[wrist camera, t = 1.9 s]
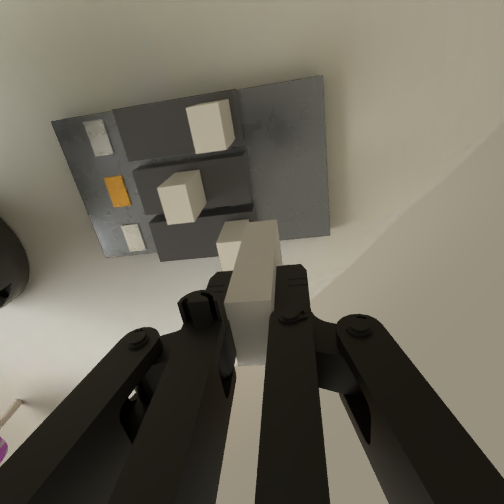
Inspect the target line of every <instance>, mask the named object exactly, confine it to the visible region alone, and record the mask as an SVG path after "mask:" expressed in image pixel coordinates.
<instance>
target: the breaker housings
mask: <svg viewBox="0 0 504 504" xmlns="http://www.w3.org/2000/svg"><path fill="white" fill-rule="evenodd" d="M112 112H113V115H114V118H115V121H116V124H117V127H118V130H119V133H120V137H121V140H122V143H123V146H124V149H125V152H126V155H127V158H128V162H132V161H139V160H146V159H153V158H160V157H167V156H174V155H181V154H188V153H195V152H196V154H200V153H207V152H214V151H221V150H227V149H228V148H229V147H236V146H242V144H243V143H244V138H243V131H242V125H241V119H240V112H239V106H238V99H237V93H236V89H231V90H226V91H220V92H214V93H208V94H202V95H196V96H190V97H184V98H179V99H173V100H167V101H161V102H155V103H149V104H143V105H137V106H132V107H126V108H120V109H114V110H112ZM191 170H199V171H200V175H201V180H202V184H203V188H204V193H205V197H206V202H207V203H206V205H205V206H204V208H203V209H206V208H214V207H223V206H232V205H240V204H249V203H251V200H252V197H253V196H252V189H251V183H250V176H249V170H248V163H247V157H246V151H242V152H235V153H228V154H221V155H214V156H207V157H199V158H192V159H185V160H178V161H171V162H164V163H157V164H150V165H143V166H139V167H138V168H136V169H134V170H133V171H132V174H133V177H134V180H135V183H136V187H137V190H138V193H139V196H140V199H141V202H142V205H143V208H144V212H145V215H155V214H163V213H164V211H163V207H162V204H161V200H160V197H159V194H158V190H157V187H159V186H160V185H161V184H162V183H163V182H164V181H166V180H167V179H168V178H169V177H170V176H172V175H173V174H174V173H176V172H184V171H191ZM248 222H257V221H256V215H255V208H254V204H251V205H243V206H234V207H225V208H217V209H208V210H202V211H201V213H200V214H199V216H198V217H197V219H196V220H195V222H190V223H181V224H172V225H168V224H167V221H166V218H165V215H157V216H155V217H154V218H153V219H152V220H151V221H150V222H149V223H148V224H149V227H150V230H151V233H152V237H153V240H154V243H155V246H156V249H157V252H158V255H159V258H160V262H163V261H173V260H184V259H194V258H205V257H216V256H219V259H220V264H221V268H222V271H233V269H234V266H235V262H236V258H237V255H238V251H239V248H240V244H241V241H242V237H243V234H244V230H245V227H246V223H248Z"/></svg>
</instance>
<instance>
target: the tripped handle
mask: <svg viewBox="0 0 504 504" xmlns="http://www.w3.org/2000/svg"><path fill="white" fill-rule="evenodd" d="M157 190H158V194H159V197H160V200H161V204H162V207H163V211H164V214H165V218H166V221H167V224H168V225H172V224H181V223H190V222H195V220H196V219H197V217H198V216H199V214H200V213H201V211H202V209H203V208H204V206H205V205H206V203H207V202H206V197H205V193H204V188H203V184H202V180H201V175H200V171H199V170H191V171H184V172H176V173H174V174H173V175H172V176H170V177H169V178H168V179H167V180H166V181H164V182H163V183H162V184H161V185H160V186H159V187H157Z"/></svg>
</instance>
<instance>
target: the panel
mask: <svg viewBox="0 0 504 504" xmlns="http://www.w3.org/2000/svg"><path fill="white" fill-rule="evenodd" d="M236 93H237V99H238V106H239V112H240V119H241V125H242V131H243V138H244V143H243V144H242V146H236V147H229V148H228V149H227V150H221V151H214V152H207V153H200V154H196V152H195V153H188V154H181V155H174V156H167V157H160V158H153V159H146V160H139V161H132V162H128V158H127V155H126V152H125V149H124V146H123V143H122V140H121V137H120V133H119V130H118V127H117V124H116V121H115V118H114V115H113V112H112V111H109V112H103V113H98V114H92V115H86V116H80V117H74V118H68V119H62V120H56V121H51V123H52V126H53V128H54V131H55V133H56V136H57V138H58V141H59V143H60V145H61V148H62V150H63V153H64V155H65V158H66V160H67V163H68V165H69V168H70V170H71V173H72V175H73V178H74V180H75V182H76V185H77V187H78V190H79V192H80V195H81V197H82V200H83V202H84V205H85V207H86V210H87V212H88V215H89V217H90V219H91V222H92V224H93V227H94V229H95V232H96V234H97V237H98V239H99V242H100V244H101V247H102V249H103V252H104V254H105V257H117V256H127V255H137V254H147V253H157V249H156V246H155V243H154V240H153V237H152V233H151V230H150V227H149V224H148V223H149V222H150V221H151V220H152V219H153V218H154V217H155V216H157V215H165V214H164V213H163V214H155V215H145V212H144V208H143V205H142V202H141V199H140V196H139V193H138V190H137V187H136V183H135V180H134V177H133V174H132V171H133V170H134V169H136V168H138V167H139V166H143V165H150V164H157V163H164V162H171V161H178V160H185V159H192V158H199V157H207V156H214V155H221V154H228V153H235V152H242V151H246V157H247V163H248V170H249V176H250V183H251V189H252V196H253V197H252V200H251V203H249V204H240V205H232V206H223V207H214V208H206V209H202V210H208V209H217V208H225V207H234V206H243V205H251V204H254V208H255V215H256V221H267V220H276V219H277V224H278V232H279V240H289V239H299V238H309V237H320V236H330V223H329V201H328V179H327V157H326V135H325V113H324V91H323V75H322V76H316V77H310V78H304V79H298V80H292V81H286V82H280V83H274V84H269V85H263V86H257V87H251V88H245V89H239V90H236Z"/></svg>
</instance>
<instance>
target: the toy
mask: <svg viewBox="0 0 504 504" xmlns="http://www.w3.org/2000/svg"><path fill="white" fill-rule="evenodd" d="M21 404H22V401H21V400H19V399H16V400H15V401H14V403H13V404H12V405H11V406H10V408H9V409H8V410H7V411H6V413H5V414H4V415H3V416H2V418H1V419H0V429H1V428H2V426H3V425H4V424H5V423H6V422H7V421H8V419H9V418H10V417H11V416H12V415H13V414H14V412H15V411H16V410H17V409H18V408H19V407H20V405H21ZM7 451H8V446H7V443H6V442H5V441H4V440H3V439H2V438H1V437H0V463H1V461H2V460H3V458H4V457H5V455H6V454H7Z"/></svg>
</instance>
